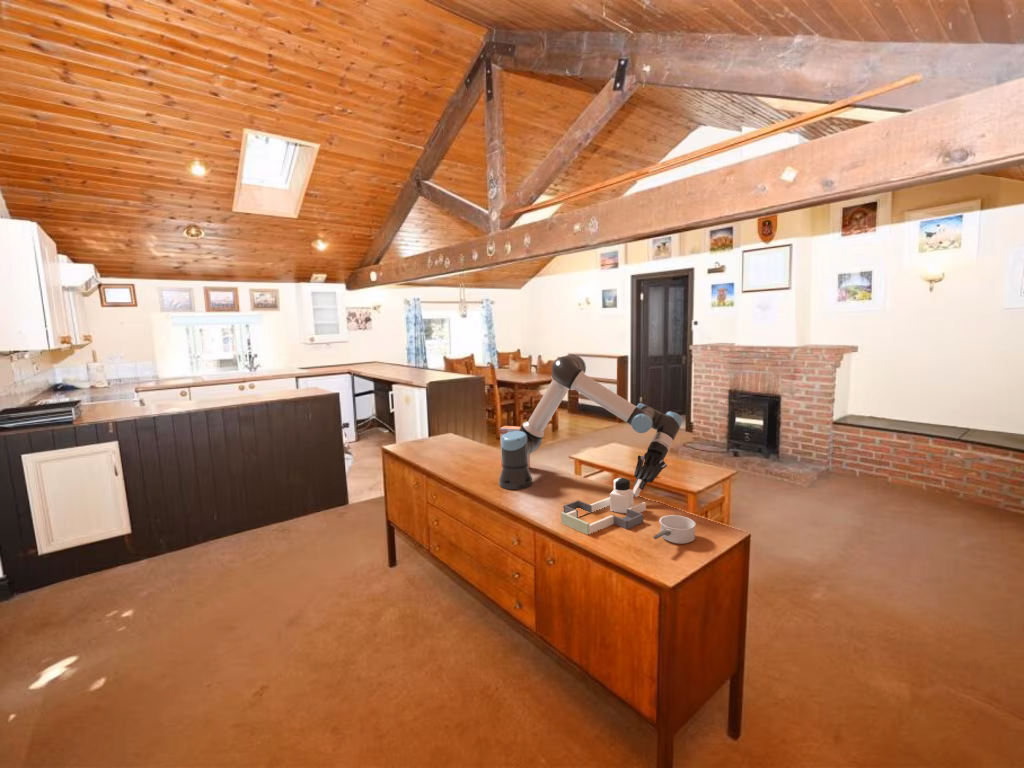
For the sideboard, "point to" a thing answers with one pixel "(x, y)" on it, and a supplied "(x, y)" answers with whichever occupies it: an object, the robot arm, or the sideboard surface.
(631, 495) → the medicine bottle
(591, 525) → the channel
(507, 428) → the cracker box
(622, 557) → the sideboard surface
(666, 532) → the saucepan
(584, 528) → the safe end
